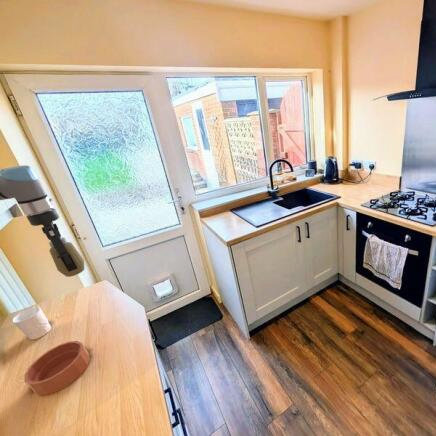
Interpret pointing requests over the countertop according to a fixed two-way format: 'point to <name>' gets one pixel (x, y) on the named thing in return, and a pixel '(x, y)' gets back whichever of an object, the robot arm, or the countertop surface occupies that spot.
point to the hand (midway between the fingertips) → (71, 265)
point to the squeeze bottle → (74, 254)
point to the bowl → (57, 368)
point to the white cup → (32, 322)
